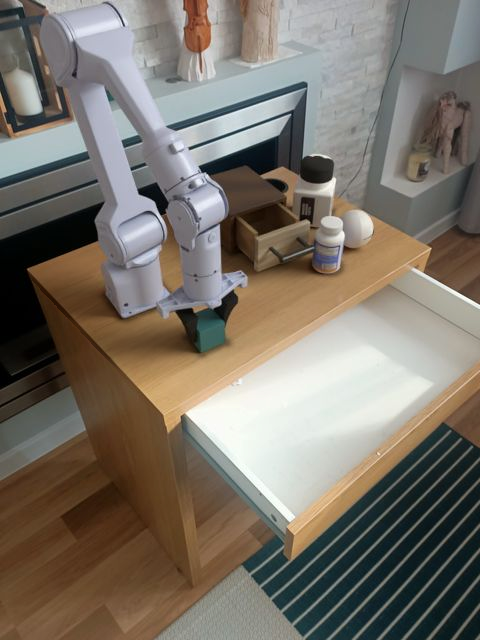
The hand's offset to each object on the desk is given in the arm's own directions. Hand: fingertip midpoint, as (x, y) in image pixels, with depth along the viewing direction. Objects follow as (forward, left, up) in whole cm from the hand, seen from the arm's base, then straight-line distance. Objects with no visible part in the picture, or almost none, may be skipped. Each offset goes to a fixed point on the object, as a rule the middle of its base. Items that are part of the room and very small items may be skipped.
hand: (206, 333), depth 89 cm
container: (+37, +20, -2) cm, 42 cm away
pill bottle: (+29, +5, -2) cm, 30 cm away
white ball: (+39, +8, -2) cm, 40 cm away
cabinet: (+22, +25, -1) cm, 34 cm away
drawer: (+22, +14, -1) cm, 26 cm away
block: (0, 0, -1) cm, 1 cm away
